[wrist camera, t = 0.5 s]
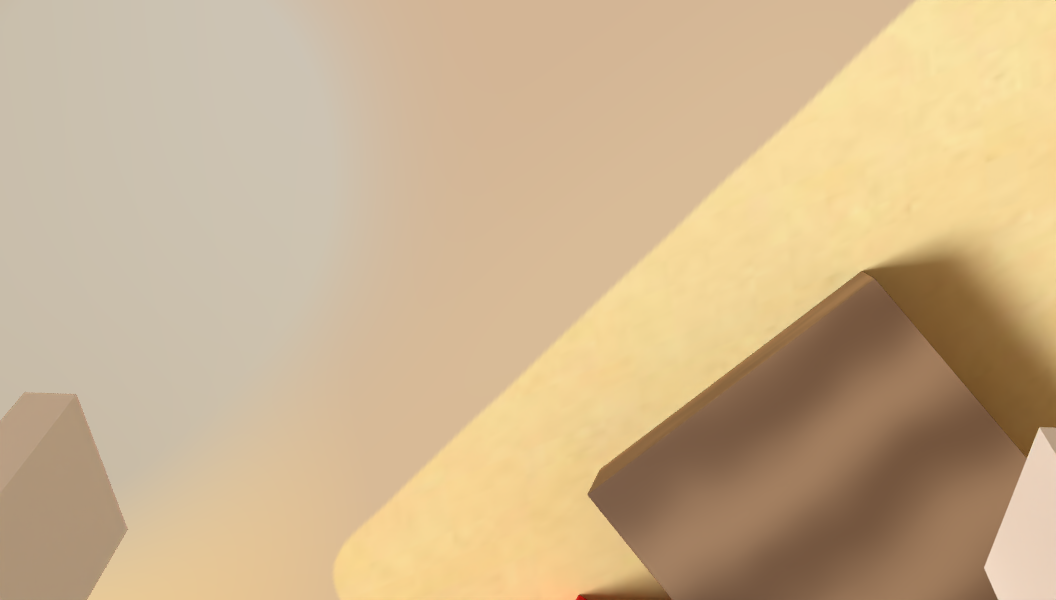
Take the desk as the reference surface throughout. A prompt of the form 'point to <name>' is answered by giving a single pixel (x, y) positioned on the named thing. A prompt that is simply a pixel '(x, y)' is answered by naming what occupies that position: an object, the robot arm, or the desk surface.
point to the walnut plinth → (821, 470)
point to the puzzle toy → (580, 598)
